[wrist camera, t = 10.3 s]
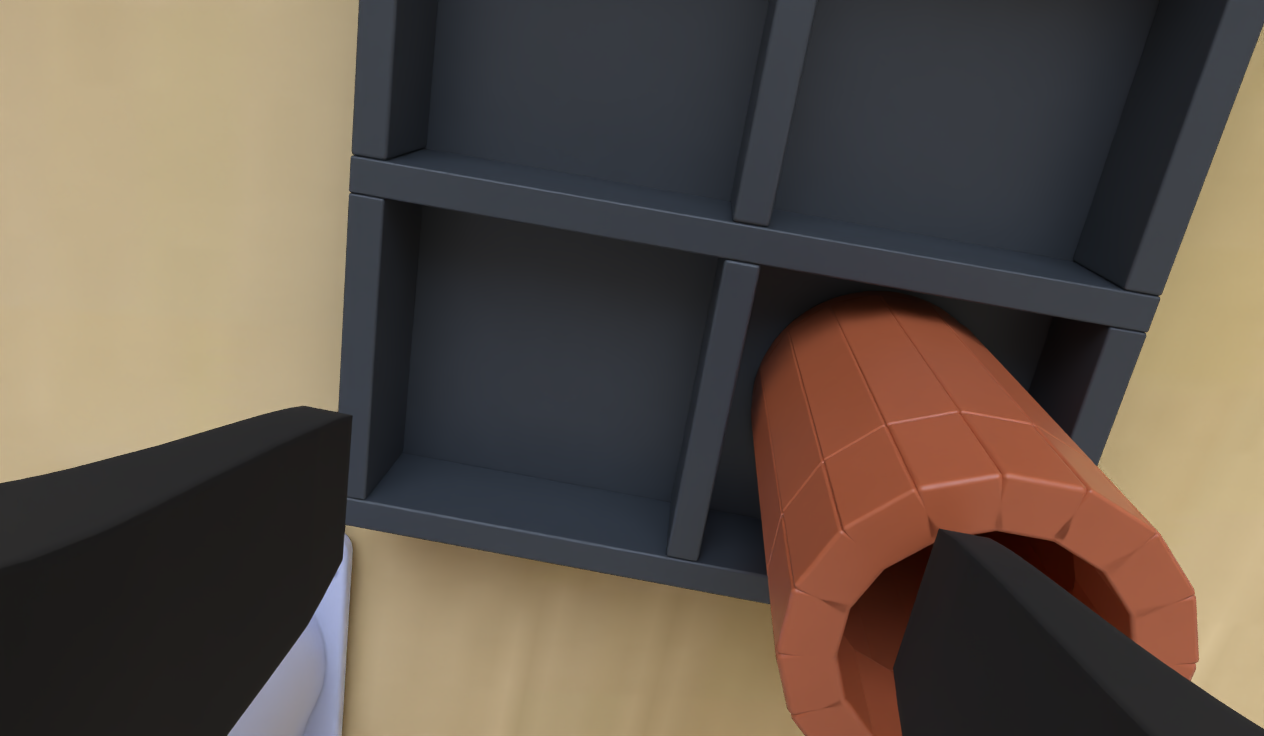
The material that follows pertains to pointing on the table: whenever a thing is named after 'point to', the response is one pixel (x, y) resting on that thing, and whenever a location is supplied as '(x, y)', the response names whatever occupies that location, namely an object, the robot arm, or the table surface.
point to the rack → (734, 238)
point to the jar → (924, 501)
